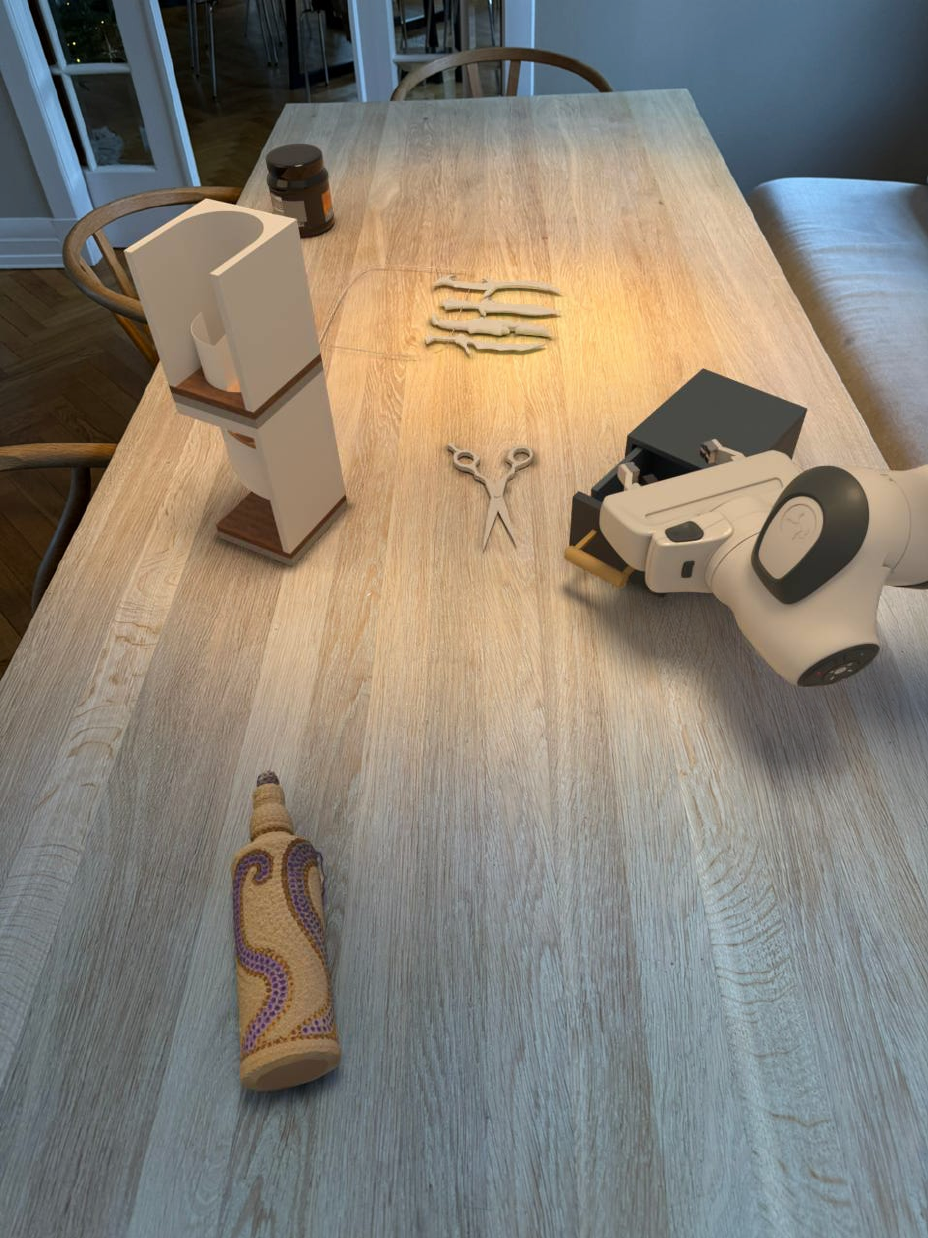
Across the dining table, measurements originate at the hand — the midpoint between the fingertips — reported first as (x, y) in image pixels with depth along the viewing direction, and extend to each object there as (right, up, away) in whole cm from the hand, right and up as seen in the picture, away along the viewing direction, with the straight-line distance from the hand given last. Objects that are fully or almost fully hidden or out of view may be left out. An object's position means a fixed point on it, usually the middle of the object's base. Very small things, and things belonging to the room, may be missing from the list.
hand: (665, 456), depth 90 cm
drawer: (-1, -8, +9) cm, 12 cm away
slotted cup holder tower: (-42, -5, +15) cm, 45 cm away
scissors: (-17, -2, +17) cm, 24 cm away
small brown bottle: (-1, -8, +8) cm, 11 cm away
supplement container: (-49, +53, +66) cm, 98 cm away
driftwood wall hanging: (-23, +30, +45) cm, 59 cm away
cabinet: (+9, -1, +17) cm, 19 cm away
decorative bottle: (-34, -43, -17) cm, 58 cm away
